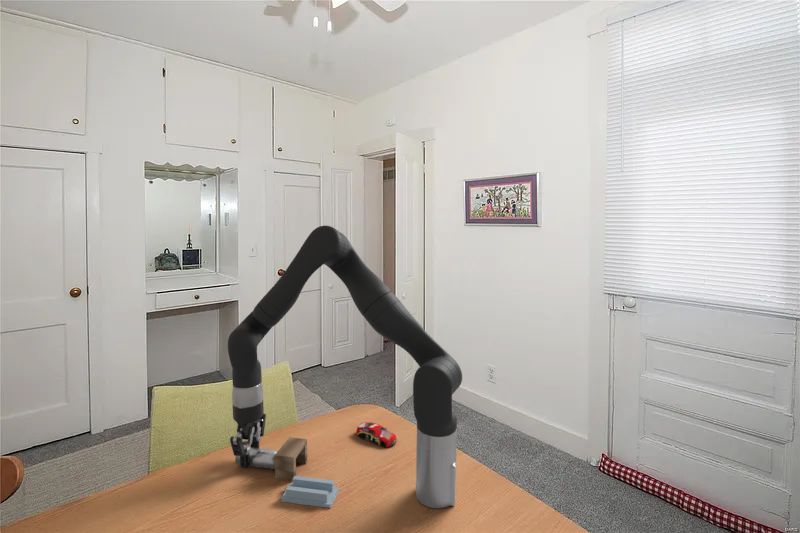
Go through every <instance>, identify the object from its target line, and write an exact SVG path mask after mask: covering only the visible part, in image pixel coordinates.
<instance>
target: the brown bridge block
mask: <svg viewBox="0 0 800 533" xmlns="http://www.w3.org/2000/svg"><path fill="white" fill-rule="evenodd" d="M307 463H308V439H307V438H299V437H291V436H289V437H288V438H287V439H286V440H285V442H284V443H283V444H282V446H281V447H279V449H278V452H277V453H276V454H275V469H274V472H275V474H274V475H275V476H274V477H275V478H274V479H275V480H279V481H280V480H282V481H290V482H293V477H294V476H297V464H301V465H302V464H303V465H306V464H307Z"/></svg>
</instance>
